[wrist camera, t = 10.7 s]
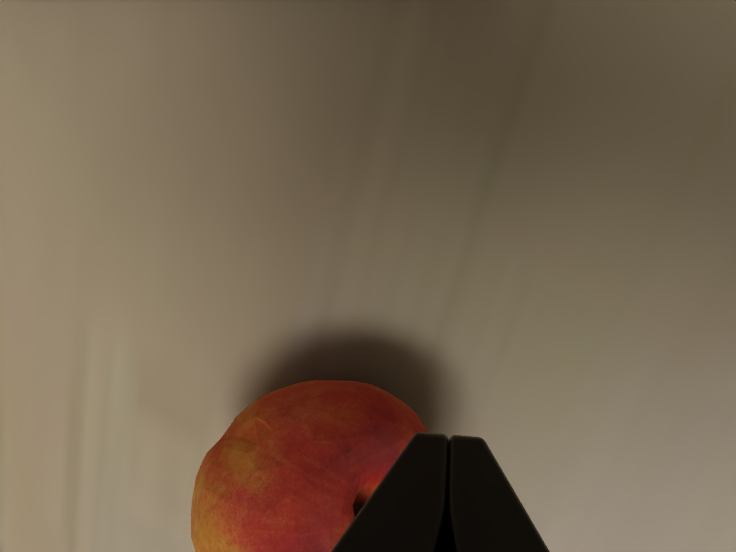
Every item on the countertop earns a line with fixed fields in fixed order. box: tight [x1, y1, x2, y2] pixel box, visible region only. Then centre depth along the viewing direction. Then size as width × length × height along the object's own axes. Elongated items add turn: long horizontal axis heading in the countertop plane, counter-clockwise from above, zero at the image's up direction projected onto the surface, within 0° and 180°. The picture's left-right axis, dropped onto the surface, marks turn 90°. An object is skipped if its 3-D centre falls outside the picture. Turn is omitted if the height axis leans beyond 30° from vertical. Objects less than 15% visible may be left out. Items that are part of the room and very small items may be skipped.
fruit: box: [191, 380, 428, 552], centre depth 20 cm, size 8×8×8 cm
